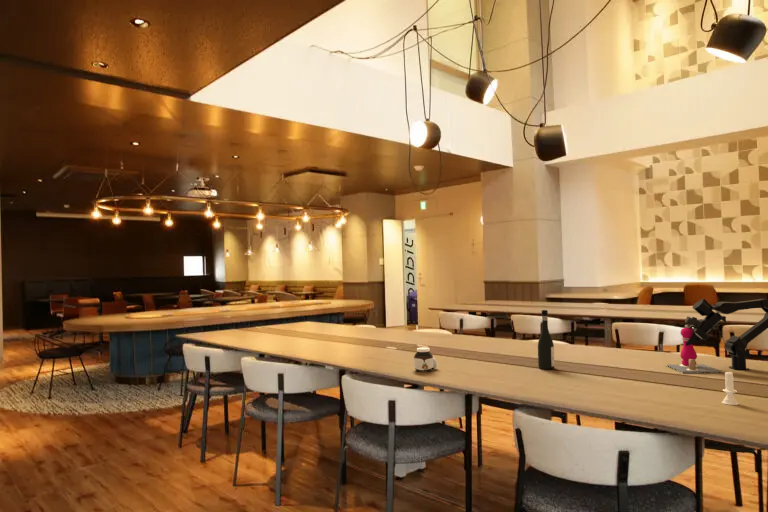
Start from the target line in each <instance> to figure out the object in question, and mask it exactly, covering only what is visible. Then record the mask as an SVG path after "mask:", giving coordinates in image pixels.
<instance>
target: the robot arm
mask: <svg viewBox="0 0 768 512" xmlns="http://www.w3.org/2000/svg"><path fill="white" fill-rule="evenodd" d="M758 308H759V309H761V310H763V312H765V313H764V316H763V318H761V319H760V320H759V321H758V322H756V323H755V324H754V325H752V326H751V327H750V328H749V329H746V331H744V332H743V333H742V334H741V335H739V336H736V335H731V336H730V338H728V339H726V340H725V343H724V349H725V351H727V353H728V355H729V356H731V366H728V368H729V369H732V370H737V371H739V370H740V371H743V370H744V371H745V370H746V371H747V370H748V371H749V370H750V368H749V367H747V358H748V359H749V358H750V357H749V356H750V352H749V351H747V347H748V344H749V343H750V342H751V341H753V340H754V339H756V338H757V337H758V336H760V335H761V334H762V333H763V332H765V331H766V330H767V329H768V299H766V298H758V299H752V300H751V299H750V300H743V301H735V302H733V301H732V302H731V301H718V302H717V301H716V303H715V304H710V303H709V302H708V301H707V299H705V298H702V299H700V300H698V301H697V302H695V303H694V304H693V305H692V309H693V310H694V311H695V312H696V313H698V314H699V315H700V316H701V317H703V318H701V319H699V320H698V318H697V317H694V316H692V317H691V316H688V315H687V316H686V318H685V321H684V322H685V323H686V324H687V325H689V324H690V325H689V328H691V329H693V331H694V332H693V331H692V336H691V337H690V339H689V340H688V341H687V342H686V344H685V345H686V346H688V345H691V344H693V345H694V344H698V343H700V342H703V341H707V340H708V339H709V335H708V333H709V332H710V331H711V330H714V327H716V326H717V324H719V323H720V322H724V323H727V320H726V319H727V316H725V315H730V314H734V313H735V312H737V311H742V310H750V309H758ZM714 311H715V312H714ZM721 314H722V315H721ZM723 314H724V315H723Z"/></svg>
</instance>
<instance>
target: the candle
mask: <svg viewBox="0 0 768 512" xmlns="http://www.w3.org/2000/svg"><path fill="white" fill-rule="evenodd" d="M724 380H725V381H724V382H725V386H724V387H725V388H724V389H722V391H723V392H724V393H726V396H724V398H723V400H722V401H721V403H722V404H724V405H728V406H737V405H739V402H738V401H737V399H736V398H735V396H734V394H735V393H737V392H738V391H737V390H736V389H735V388H734V380H735V378H734V374H733V372H732V371H726V372H724Z"/></svg>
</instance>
